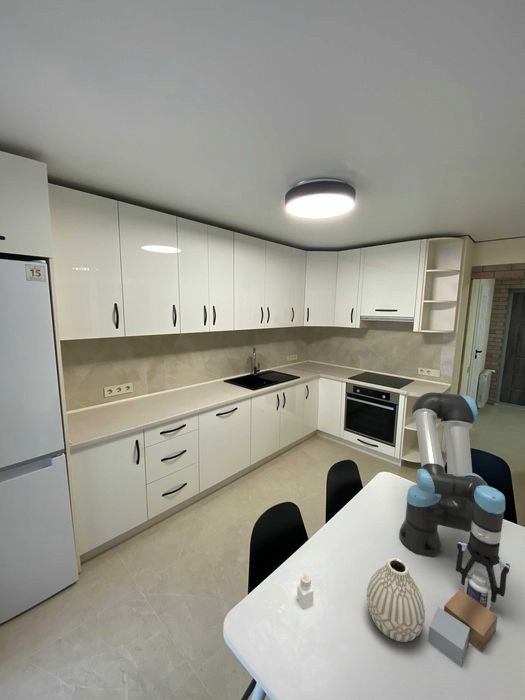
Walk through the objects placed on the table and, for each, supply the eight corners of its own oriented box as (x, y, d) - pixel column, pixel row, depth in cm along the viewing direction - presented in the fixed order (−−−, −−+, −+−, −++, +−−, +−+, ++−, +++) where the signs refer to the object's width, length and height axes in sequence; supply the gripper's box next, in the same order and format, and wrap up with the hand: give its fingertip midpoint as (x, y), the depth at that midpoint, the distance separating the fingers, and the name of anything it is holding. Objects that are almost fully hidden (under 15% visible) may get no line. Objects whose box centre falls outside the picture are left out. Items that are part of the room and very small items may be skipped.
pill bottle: (481, 614, 91) (484, 586, 90) (463, 599, 96) (466, 573, 94) (490, 606, 93) (493, 579, 92) (472, 592, 98) (475, 566, 97)
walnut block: (442, 622, 89) (444, 605, 88) (457, 605, 94) (459, 588, 93) (480, 654, 80) (483, 636, 79) (495, 633, 86) (497, 616, 85)
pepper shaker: (296, 600, 94) (297, 575, 93) (306, 596, 96) (307, 570, 95) (302, 612, 91) (303, 585, 89) (313, 607, 92) (314, 581, 91)
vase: (358, 597, 96) (362, 542, 93) (407, 599, 95) (412, 544, 93) (375, 653, 80) (380, 589, 77) (434, 656, 80) (440, 592, 77)
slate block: (427, 644, 83) (429, 626, 82) (436, 624, 88) (438, 606, 87) (460, 669, 77) (462, 650, 76) (467, 646, 82) (470, 628, 81)
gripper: (448, 526, 96) (441, 588, 99) (522, 561, 82) (511, 631, 85) (454, 515, 101) (447, 575, 104) (524, 547, 87) (515, 614, 90)
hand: (476, 600), depth 94 cm, fingers closed on pill bottle, 5 cm apart
